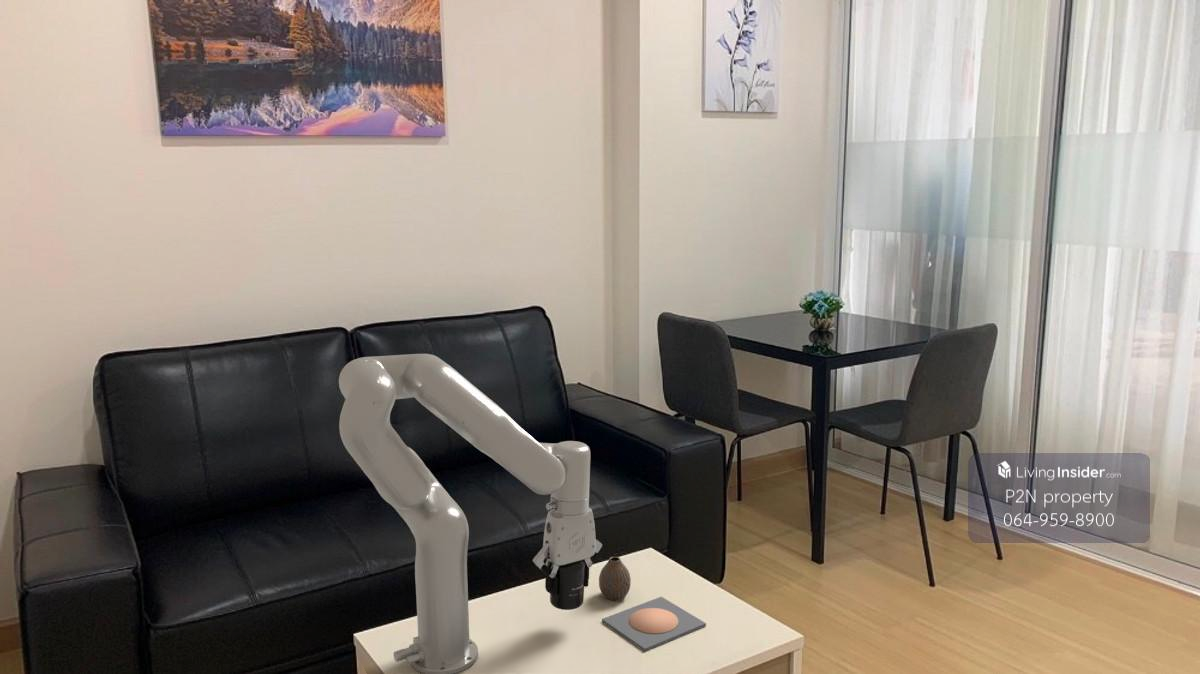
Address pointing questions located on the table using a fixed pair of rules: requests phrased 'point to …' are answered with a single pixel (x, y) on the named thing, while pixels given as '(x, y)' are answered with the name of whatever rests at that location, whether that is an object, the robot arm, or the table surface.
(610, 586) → the vase
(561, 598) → the supplement bottle
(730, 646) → the table surface
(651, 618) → the mat
